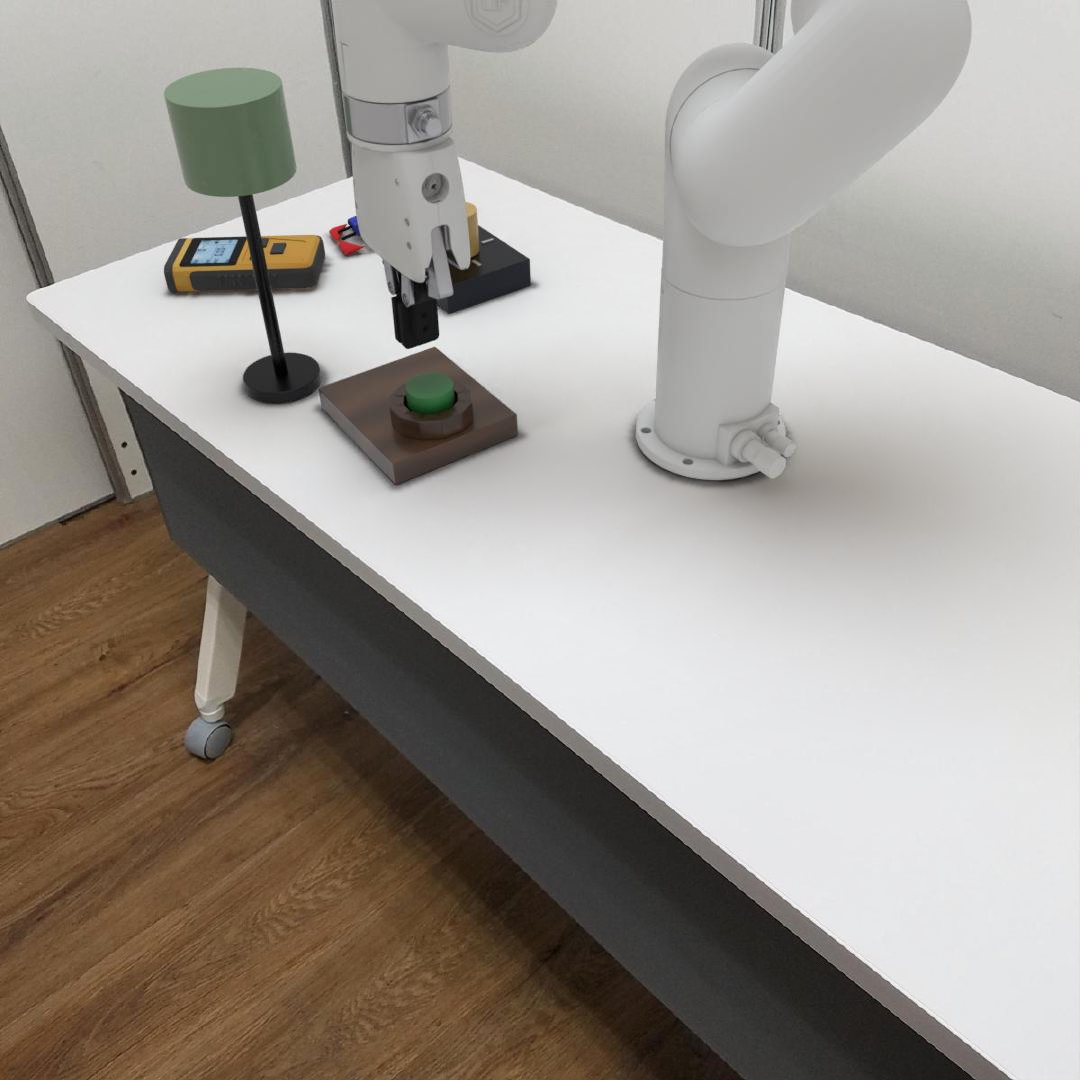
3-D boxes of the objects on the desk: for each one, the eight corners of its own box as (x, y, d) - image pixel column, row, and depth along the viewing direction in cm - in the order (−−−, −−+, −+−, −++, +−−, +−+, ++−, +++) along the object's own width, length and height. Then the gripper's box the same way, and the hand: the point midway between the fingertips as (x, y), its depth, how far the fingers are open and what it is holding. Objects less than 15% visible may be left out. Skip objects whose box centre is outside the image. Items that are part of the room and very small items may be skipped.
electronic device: (317, 294, 119) (312, 265, 117) (168, 297, 119) (160, 268, 117) (328, 257, 125) (323, 228, 123) (186, 259, 125) (179, 231, 123)
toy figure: (352, 271, 125) (472, 220, 128) (337, 230, 122) (461, 179, 125) (332, 249, 131) (447, 201, 134) (317, 210, 128) (436, 161, 131)
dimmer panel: (531, 285, 119) (530, 257, 117) (448, 313, 114) (446, 285, 112) (471, 244, 126) (469, 217, 124) (392, 269, 122) (388, 242, 120)
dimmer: (487, 252, 118) (484, 208, 115) (451, 264, 116) (447, 220, 113) (465, 237, 121) (462, 194, 118) (429, 249, 119) (425, 205, 116)
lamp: (348, 388, 104) (300, 89, 87) (257, 421, 101) (188, 116, 83) (307, 347, 110) (254, 59, 93) (219, 377, 106) (147, 83, 89)
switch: (463, 405, 95) (462, 387, 94) (422, 421, 94) (420, 403, 92) (439, 384, 98) (438, 367, 97) (398, 400, 96) (396, 382, 95)
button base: (518, 435, 98) (516, 396, 95) (395, 485, 93) (390, 445, 90) (437, 366, 107) (433, 328, 104) (321, 408, 102) (314, 370, 99)
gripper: (500, 133, 77) (506, 366, 89) (394, 73, 86) (413, 291, 98) (402, 158, 74) (422, 396, 85) (304, 92, 83) (334, 315, 95)
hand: (417, 339), depth 92 cm, fingers closed
